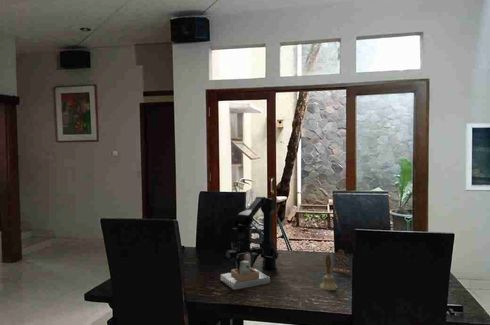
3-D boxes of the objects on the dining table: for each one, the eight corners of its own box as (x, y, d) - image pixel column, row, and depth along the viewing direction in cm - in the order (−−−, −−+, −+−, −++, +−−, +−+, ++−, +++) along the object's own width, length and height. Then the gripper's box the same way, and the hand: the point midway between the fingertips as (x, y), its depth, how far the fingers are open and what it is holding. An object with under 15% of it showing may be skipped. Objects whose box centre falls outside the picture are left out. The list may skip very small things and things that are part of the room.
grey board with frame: (254, 274, 218) (254, 264, 218) (269, 283, 204) (269, 272, 203) (220, 280, 209) (220, 269, 209) (233, 289, 195) (233, 278, 194)
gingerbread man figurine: (350, 272, 220) (350, 250, 219) (348, 274, 216) (348, 251, 216) (334, 269, 224) (334, 248, 224) (331, 271, 221) (331, 249, 220)
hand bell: (327, 291, 191) (327, 258, 190) (316, 286, 198) (316, 254, 198) (341, 288, 195) (341, 255, 194) (330, 283, 202) (329, 251, 201)
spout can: (247, 273, 209) (247, 260, 209) (253, 277, 203) (253, 263, 203) (238, 275, 207) (238, 261, 207) (244, 278, 201) (244, 265, 201)
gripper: (253, 233, 217) (253, 262, 217) (221, 237, 208) (221, 267, 209) (263, 237, 207) (263, 267, 207) (230, 242, 198) (230, 273, 199)
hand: (244, 269), depth 206 cm, fingers open, 7 cm apart
